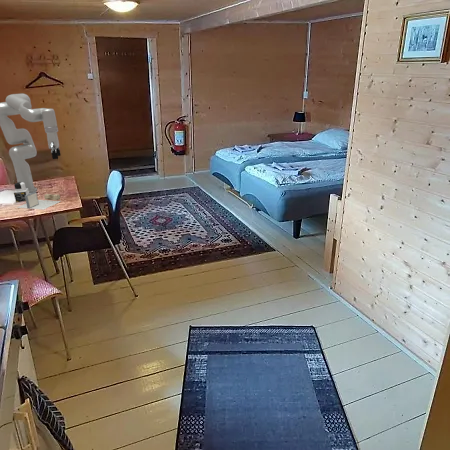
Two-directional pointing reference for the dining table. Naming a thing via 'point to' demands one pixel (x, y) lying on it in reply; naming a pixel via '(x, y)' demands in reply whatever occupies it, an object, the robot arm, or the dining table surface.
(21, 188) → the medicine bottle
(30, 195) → the tile
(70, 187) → the dining table surface
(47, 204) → the mat
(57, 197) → the turner
